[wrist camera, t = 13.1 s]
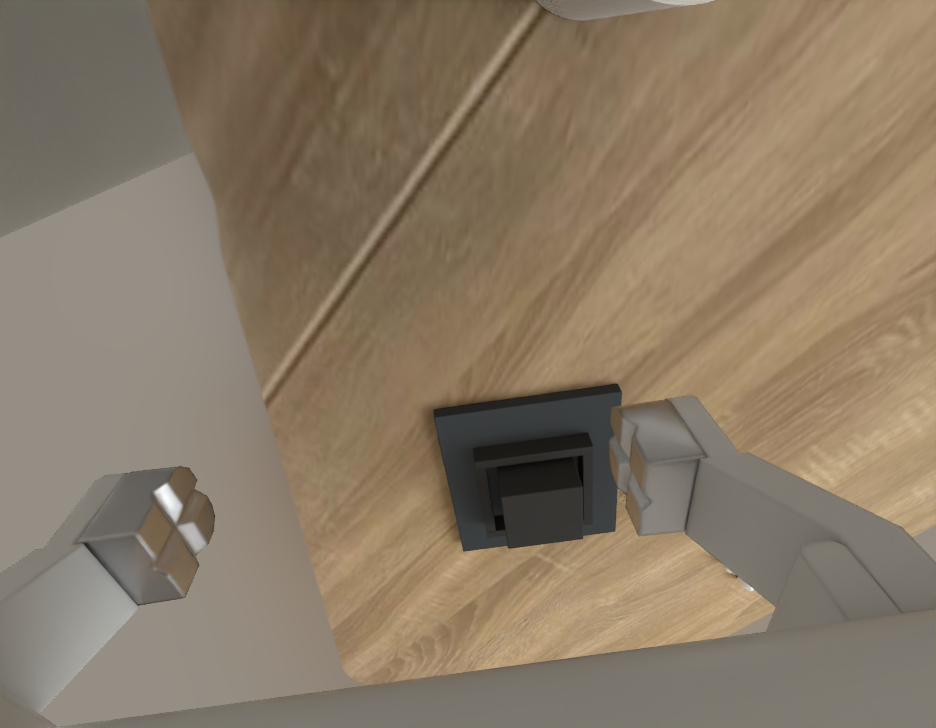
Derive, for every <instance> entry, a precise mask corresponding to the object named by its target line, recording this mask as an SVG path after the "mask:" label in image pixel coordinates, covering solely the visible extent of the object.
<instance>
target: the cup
mask: <svg viewBox="0 0 936 728" xmlns="http://www.w3.org/2000/svg"><path fill="white" fill-rule="evenodd" d="M535 1H536V2H537V3H539V4H540V5H541V6H542V7H544V8H545V9H546V10H548V11H550V12H551V13H553V14H555V15H557V16H560V17H563V18H567V19H571V20H582V21H583V20H594V19H600V18H607V17H614V16H620V15H627V14H633V13H640V12H647V11H653V10H660V9H667V8H673V7H680V6H687V5H693V4H700V3H706V2H710V1H714V0H535Z"/></svg>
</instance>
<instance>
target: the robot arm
mask: <svg viewBox="0 0 936 728" xmlns="http://www.w3.org/2000/svg"><path fill="white" fill-rule="evenodd" d="M610 425H611V427H612V430H613V432H614V435H613V437H612V438H611V439H610V440H609V452H608V454H609V462H610V468H611V472H612V475H613V478H614V481H615V483H616V486H617V488H618V489H619V490H621V491H622V492H624V493H625V494H627V496H626V509H627V511H628V514H629V516H630V518H631V521H632V523H633V525H634V527H635V530H636V532H637V534H638V536H647V535H657V534H666V533H675V532H684V531H686V532H685V534H686V535H688V536H689V537H690V538H691V539H692V540H694V541H695V542H696V543H697V544H699V545H700V546H701V547H702V548H704V549H705V550H706V551H707V552H709V553H710V554H711V555H712V556H713V557H715V558H716V559H717V560H718V561H720V562H721V563H722V564H723V565H725V566H726V567H727V568H728V569H730V570H731V571H732V572H733V573H734V574H736V575H737V576H738V577H739V578H741V579H742V580H743V581H744V582H746V583H747V584H748V585H749V586H750V587H752V588H753V589H754V590H755V591H757V592H758V593H759V594H760V595H762V596H763V597H764V598H765V599H767V600H768V601H769V602H770V603H771V604H773V605H774V606H775V607H776V608H775V610H774V613H773V615H772V618H771V620H770V623H769V625H768V628H767V630H766V632H761V633H753V634H746V635H738V636H731V637H724V638H716V639H709V640H701V641H694V642H686V643H679V644H672V645H664V646H657V647H649V648H642V649H634V650H627V651H619V652H612V653H605V654H597V655H590V656H582V657H575V658H567V659H560V660H552V661H545V662H538V663H530V664H523V665H515V666H508V667H500V668H493V669H485V670H478V671H471V672H463V673H456V674H448V675H441V676H433V677H426V678H418V679H411V680H404V681H396V682H389V683H381V684H374V685H367V686H359V687H352V688H345V689H338V690H330V691H323V692H315V693H308V694H300V695H293V696H286V697H278V698H271V699H263V700H257V701H249V702H242V703H234V704H227V705H219V706H212V707H204V708H197V709H189V710H182V711H175V712H167V713H160V714H152V715H144V716H137V717H130V718H122V719H115V720H108V721H100V722H93V723H85V724H78V725H71V726H62V727H57V726H56V725H54V724H53V723H51V722H50V721H49V720H47V719H46V718H45V717H43V716H42V715H40V713H41V712H42V711H43V709H44V708H45V707H46V706H47V705H48V704H49V703H50V702H51V701H52V700H53V699H54V698H55V697H56V696H57V695H58V693H60V691H61V690H62V689H63V688H64V687H65V686H66V685H67V684H68V683H69V682H70V681H71V680H72V679H73V678H74V677H75V675H76V674H77V673H78V672H79V671H80V670H81V669H82V668H83V667H84V666H85V665H86V664H87V663H88V662H89V660H91V658H92V657H93V656H94V655H95V654H96V653H97V652H98V651H99V650H100V649H101V648H102V647H103V646H104V645H105V644H106V643H107V642H108V640H109V639H110V638H111V637H112V636H113V635H114V634H115V633H116V632H117V631H118V630H119V629H120V628H121V626H123V624H124V623H125V622H126V621H127V620H128V619H129V618H130V617H131V616H132V615H133V614H134V613H135V612H136V610H137V609H139V607H138V606H139V605H145V604H150V603H156V602H163V601H169V600H175V599H181V598H185V597H186V595H187V592H188V590H189V588H190V585H191V583H192V581H193V579H194V576H195V574H196V572H197V569H198V567H199V563H198V561H197V558H196V555H197V554H198V553H199V552H200V551H202V550H203V549H204V548H205V547H206V546H207V545H208V544H209V542H210V539H211V536H212V534H213V532H214V521H215V514H214V510H213V506H212V504H211V502H210V500H209V498H208V497H207V496H206V495H204V494H202V493H201V492H199V491H197V490H195V489H194V488H195V485H196V482H197V479H196V477H195V476H194V474H193V473H192V471H191V470H190V468H187V467H182V466H179V467H170V468H161V469H152V470H143V471H136V472H130V473H122V474H113V475H105V476H103V477H101V478H99V479H97V480H95V482H94V483H93V484H92V486H91V487H90V488H89V489H88V491H87V492H86V493H85V495H84V496H83V497H82V499H81V500H80V501H79V503H78V504H77V505H76V507H75V508H74V509H73V511H72V512H71V513H70V515H69V516H68V517H67V519H66V520H65V521H64V523H63V524H62V525H61V526H60V528H59V529H58V530H57V532H56V533H55V534H54V536H53V537H52V538H51V539H50V541H49V542H48V543H47V545H46V546H45V547H44V548H43V549H36V550H34V551H32V552H31V553H29V554H28V555H27V556H25V557H24V558H22V559H21V560H19V561H18V562H16V563H15V564H13V565H12V566H11V567H9V568H8V569H6V570H5V571H3V572H2V573H0V728H936V562H935V561H934V560H933V559H932V558H931V557H930V555H929V554H928V553H927V552H926V551H925V550H923V548H921V546H920V545H919V544H918V543H917V542H916V541H915V540H914V539H913V538H912V537H911V536H910V535H909V534H908V533H907V532H906V531H905V530H904V529H903V528H902V527H900V526H898V525H896V524H894V523H892V522H890V521H888V520H886V519H884V518H882V517H879V516H877V515H875V514H873V513H871V512H869V511H867V510H865V509H863V508H861V507H859V506H857V505H855V504H853V503H851V502H849V501H847V500H845V499H843V498H841V497H839V496H837V495H834V494H832V493H830V492H828V491H826V490H824V489H822V488H820V487H818V486H816V485H814V484H812V483H810V482H808V481H806V480H804V479H802V478H800V477H798V476H796V475H794V474H792V473H790V472H787V471H785V470H783V469H781V468H779V467H777V466H775V465H773V464H771V463H769V462H767V461H765V460H763V459H761V458H759V457H757V456H755V455H753V454H751V453H749V452H747V453H739V451H738V450H737V449H736V448H735V446H734V445H733V444H732V442H731V441H730V440H729V439H728V437H727V436H726V435H725V433H724V432H723V431H722V429H721V428H720V427H719V426H718V424H717V423H716V422H715V420H714V419H713V418H712V417H711V415H710V414H709V413H708V411H707V410H706V409H705V407H704V406H703V405H702V404H701V402H700V401H699V400H698V398H697V397H695V396H693V395H687V396H681V397H675V398H668V399H665V400H658V401H651V402H644V403H637V404H630V405H624V406H617V407H612V410H611V413H610Z"/></svg>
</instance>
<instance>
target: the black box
mask: <svg viewBox="0 0 936 728" xmlns="http://www.w3.org/2000/svg"><path fill="white" fill-rule="evenodd" d="M496 468H497V475H498V482H499V489H500V496H501V503H502V510H503V517H504V524H505V531H506V538H507V545H508V548H509V549H510V548H518V547H525V546H533V545H540V544H548V543H555V542H563V541H571V540H578V539H583V486H582V483H581V480H580V477H579V474H578V471H577V468H576V465H575V462H574V459H573V457H566V458H559V459H551V460H544V461H537V462H529V463H522V464H515V465H507V466H500V467H496Z"/></svg>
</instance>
